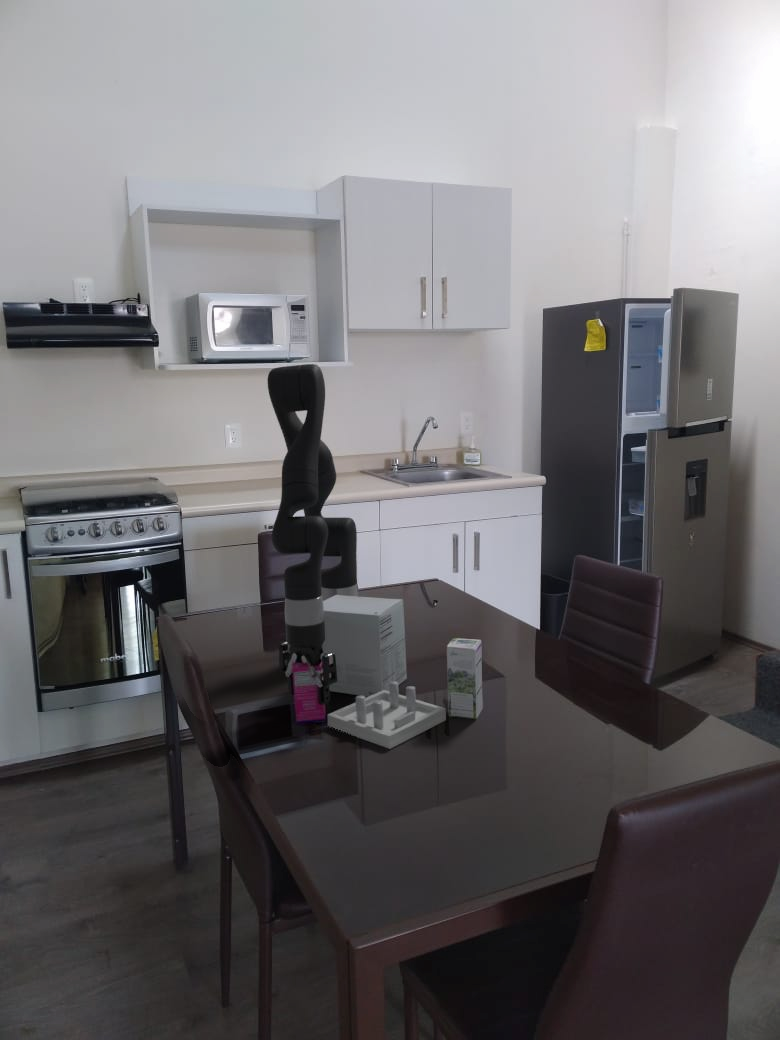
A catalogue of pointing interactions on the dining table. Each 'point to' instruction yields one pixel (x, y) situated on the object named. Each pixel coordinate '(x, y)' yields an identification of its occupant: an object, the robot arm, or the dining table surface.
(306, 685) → the supplement box
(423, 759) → the dining table surface
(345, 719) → the tray
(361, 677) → the supplement box
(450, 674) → the syrup box
